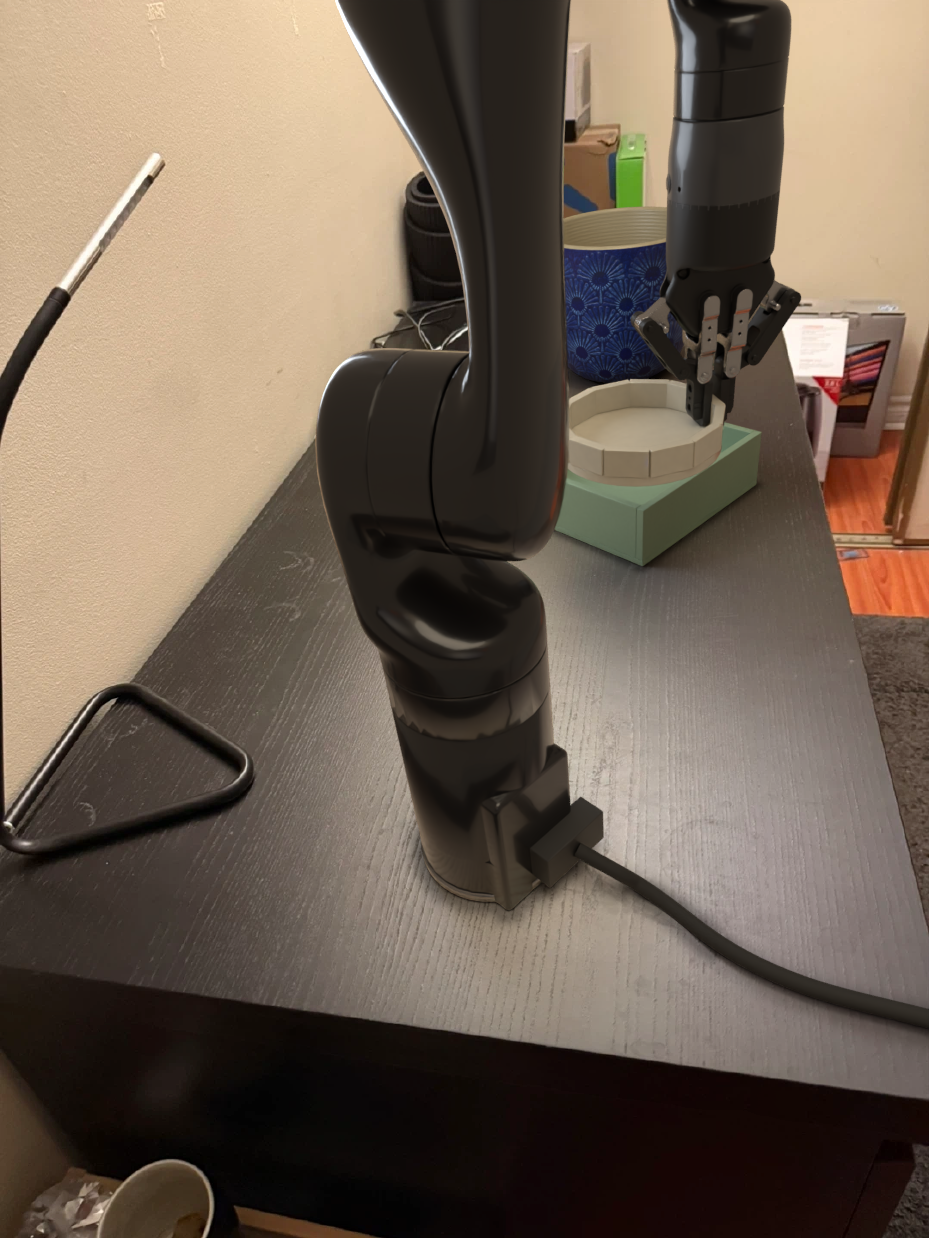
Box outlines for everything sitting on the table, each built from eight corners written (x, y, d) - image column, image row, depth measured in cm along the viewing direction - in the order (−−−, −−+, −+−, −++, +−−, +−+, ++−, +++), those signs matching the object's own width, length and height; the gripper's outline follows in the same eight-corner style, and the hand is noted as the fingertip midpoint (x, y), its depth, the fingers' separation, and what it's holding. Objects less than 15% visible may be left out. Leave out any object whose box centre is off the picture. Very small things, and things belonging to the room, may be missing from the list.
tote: (756, 484, 90) (762, 431, 86) (642, 566, 80) (643, 511, 76) (611, 440, 102) (611, 392, 99) (497, 506, 92) (492, 455, 89)
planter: (553, 347, 130) (547, 213, 118) (692, 340, 125) (699, 200, 114) (540, 402, 114) (531, 253, 102) (698, 396, 109) (707, 240, 98)
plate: (754, 436, 68) (758, 401, 66) (654, 504, 61) (654, 468, 59) (625, 400, 76) (625, 367, 74) (525, 457, 69) (522, 423, 68)
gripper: (652, 215, 54) (648, 456, 65) (844, 179, 56) (810, 421, 66) (611, 194, 60) (613, 418, 71) (785, 162, 62) (762, 387, 72)
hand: (708, 419), depth 69 cm, fingers closed on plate, 1 cm apart
